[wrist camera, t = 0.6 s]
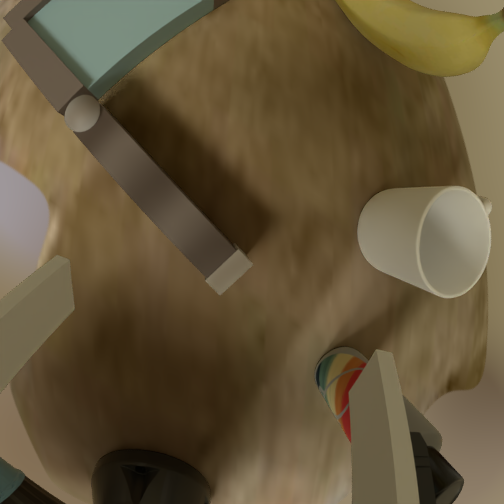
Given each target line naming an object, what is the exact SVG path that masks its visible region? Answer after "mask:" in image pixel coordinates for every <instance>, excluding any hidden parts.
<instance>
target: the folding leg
mask: <svg viewBox="0 0 504 504" xmlns="http://www.w3.org/2000/svg"><path fill="white" fill-rule="evenodd" d="M65 123H66V125H67V126H68V127H69V128H70V129H71V130H73V132H74V133H75V135H76V136H77V137H78V138H79V139H80V141H81V142H82V143H83V144H84V145H85V146H86V148H87V149H88V150H89V151H90V152H91V153H92V155H93V156H94V157H95V158H96V159H97V160H98V161H99V163H100V164H101V165H102V166H103V167H104V168H105V169H106V171H107V172H108V173H109V174H110V175H111V176H112V177H113V179H114V180H115V181H116V182H117V183H118V184H119V185H120V186H121V188H122V189H123V190H124V191H125V192H126V193H127V194H128V195H129V196H130V198H131V199H132V200H133V201H134V202H135V203H136V204H137V205H138V206H139V207H140V208H141V210H142V211H143V212H144V213H145V214H146V215H147V216H148V217H149V218H150V219H151V220H152V222H153V223H154V224H155V225H156V226H157V227H158V228H159V229H160V230H161V231H162V232H163V233H164V234H165V235H166V236H167V238H168V239H169V240H170V241H171V242H172V243H173V244H174V245H175V246H176V247H177V248H178V249H179V250H180V251H181V252H182V253H183V254H184V255H185V256H186V257H187V259H188V260H189V261H190V262H191V263H192V264H193V265H194V266H195V267H196V268H197V269H198V270H199V271H200V272H201V273H202V274H203V275H204V276H205V281H206V282H207V283H208V284H209V285H210V286H211V287H212V288H213V289H214V290H215V291H216V292H217V293H218V294H219V295H221V294H222V293H223V292H225V291H226V290H227V289H228V288H229V287H230V286H231V285H232V284H233V283H234V282H235V281H236V280H237V279H239V278H240V277H241V276H242V275H243V274H244V273H245V272H246V271H247V270H248V269H249V268H250V267H251V266H253V264H252V262H251V261H250V259H249V258H248V257H247V255H246V254H245V253H244V252H243V251H242V250H241V249H240V248H239V247H238V246H237V245H236V244H235V243H234V244H232V243H231V242H230V241H229V240H228V239H227V237H226V236H225V235H224V234H223V233H222V232H221V231H220V230H219V229H218V228H217V227H216V226H215V225H214V224H213V223H212V221H211V220H210V219H209V218H208V217H207V216H206V215H205V214H204V213H203V212H202V211H201V210H200V209H199V208H198V207H197V205H196V204H195V203H194V202H193V201H192V200H191V199H190V198H189V197H188V196H187V195H186V194H185V193H184V192H183V190H182V189H181V188H180V187H179V186H178V185H177V184H176V183H175V182H174V181H173V180H172V179H171V178H170V176H169V175H168V174H167V173H166V172H165V171H164V170H163V169H162V168H161V167H160V166H159V165H158V164H157V162H156V161H155V160H154V159H153V158H152V157H151V156H150V155H149V154H148V153H147V152H146V151H145V150H144V148H143V147H142V146H141V145H140V144H139V143H138V142H137V141H136V140H135V139H134V138H133V137H132V135H131V134H130V133H129V132H128V131H127V130H126V129H125V128H124V127H123V126H122V125H121V124H120V122H119V121H118V120H117V119H116V118H115V117H114V116H113V115H112V114H111V113H110V112H109V111H108V110H107V109H106V108H105V107H104V106H103V105H101V104H100V103H99V102H98V101H97V100H96V99H95V98H94V97H92V96H90V95H81V96H78V97H76V98H75V99H73V100H72V101H71V102H70V103H69V105H68V107H67V109H66V111H65Z"/></svg>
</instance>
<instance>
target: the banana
mask: <svg viewBox="0 0 504 504" xmlns="http://www.w3.org/2000/svg"><path fill="white" fill-rule="evenodd" d="M335 1H336V2H337V4H338V5H339V7H340V8H341V10H342V11H343V12H344V14H345V15H346V16H347V18H348V19H349V20H350V22H351V23H352V24H353V25H354V26H355V28H356V29H357V30H358V31H359V32H360V33H361V34H362V35H363V36H364V37H365V38H366V39H368V40H369V41H370V42H371V43H372V44H373V45H375V46H376V47H377V48H379V49H380V50H381V51H383V52H384V53H386V54H387V55H389V56H390V57H392V58H393V59H395V60H396V61H398V62H400V63H401V64H403V65H405V66H407V67H409V68H411V69H413V70H415V71H418V72H421V73H424V74H428V75H432V76H441V77H448V76H449V77H450V76H458V75H462V74H465V73H468V72H470V71H472V70H475V69H476V68H477V67H479V66H480V64H481V63H482V62H483V61H484V59H485V57H486V55H487V53H488V51H489V48H490V46H491V43H492V42H493V40H494V39H495V38H496V37H497V36H498V35H499V34H500V33H502V32H503V31H504V8H503V9H502V10H501V11H500V12H498V13H496V14H492V15H485V16H479V17H473V16H467V15H463V14H457V13H451V12H444V11H437V10H432V9H429V8H425V7H423V6H421V5H418V4H416V3H414V2H412V1H410V0H335Z"/></svg>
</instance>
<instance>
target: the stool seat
mask: <svg viewBox="0 0 504 504" xmlns="http://www.w3.org/2000/svg"><path fill="white" fill-rule="evenodd" d="M227 1H229V0H21V1H20V2H19V3H18V4H17V5H16V6H15V7H14V8H13V9H12V10H11V11H10V12H9V13H8V14H7V15H6V16H5V17H4V20H5V21H6V22H7V23H8V25H9V26H10V27H11V28H12V30H11V31H10V32H9V33H8V34H7V35H6V36H5V37H4V38H3V39H2V42H3V43H4V44H5V46H6V47H7V48H8V50H9V51H10V52H11V54H12V55H13V56H14V58H15V59H16V60H17V62H18V63H19V64H20V65H21V67H22V68H23V69H24V71H25V72H26V73H27V75H28V76H29V77H30V78H31V80H32V81H33V82H34V83H35V85H36V86H37V87H38V89H39V90H40V91H41V92H42V94H43V95H44V96H45V97H46V99H47V100H48V101H49V102H50V103H51V105H52V106H53V107H54V108H55V110H56V111H57V112H58V113H60V114H62V115H63V116H65V111H66V109H67V107H68V105H69V103H70V102H71V101H72V100H73V99H75V98H76V97H78V96H81V95H90V96H92V97H94V98H95V99H96V100H98V99H99V98H100V97H102V96H103V95H104V94H105V93H106V92H107V91H108V90H109V89H110V88H111V87H112V86H113V85H114V84H116V83H117V82H118V81H119V80H120V79H121V78H122V77H123V76H125V75H126V74H127V73H128V72H129V71H130V70H132V69H133V68H134V67H135V66H136V65H138V64H139V63H140V62H141V61H142V60H144V59H145V58H146V57H147V56H149V55H150V54H151V53H153V52H154V51H155V50H156V49H158V48H159V47H160V46H162V45H163V44H164V43H166V42H167V41H168V40H170V39H171V38H172V37H174V36H175V35H177V34H178V33H179V32H181V31H182V30H184V29H185V28H187V27H188V26H189V25H191V24H192V23H194V22H195V21H197V20H198V19H200V18H201V17H203V16H205V15H206V14H208V13H209V12H211V11H212V10H214V9H216V8H217V7H219V6H221V5H222V4H224V3H226V2H227Z"/></svg>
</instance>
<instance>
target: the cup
mask: <svg viewBox="0 0 504 504" xmlns="http://www.w3.org/2000/svg"><path fill="white" fill-rule="evenodd" d="M491 210H492V203H491V201H490V200H489V199H488V198H486V197H482V196H477V195H476V194H475V193H473V192H472V191H471V190H469V189H467V188H465V187H462V186H433V187H410V188H393V189H387V190H384V191H381V192H379V193H377V194H376V195H374V196H373V197H372V198H371V199H370V200H369V201H368V202H367V204H366V205H365V206H364V208H363V210H362V212H361V215H360V217H359V221H358V228H357V236H358V243H359V246H360V249H361V252H362V254H363V256H364V257H365V259H366V260H367V261H368V262H369V263H370V264H371V265H372V266H373V267H374V268H376V269H377V270H379V271H381V272H383V273H386V274H388V275H390V276H393V277H395V278H398V279H400V280H402V281H405V282H407V283H409V284H412V285H414V286H416V287H419V288H421V289H423V290H426V291H428V292H430V293H433V294H435V295H437V296H440V297H443V298H455V297H458V296H461V295H463V294H464V293H466V292H467V291H469V290H470V289H471V288H472V287H473V286H474V285H475V284H476V282H477V281H478V280H479V278H480V277H481V275H482V273H483V271H484V269H485V267H486V264H487V261H488V258H489V254H490V248H491V227H490V221H489V217H488V215H489V213H490V212H491Z"/></svg>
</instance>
